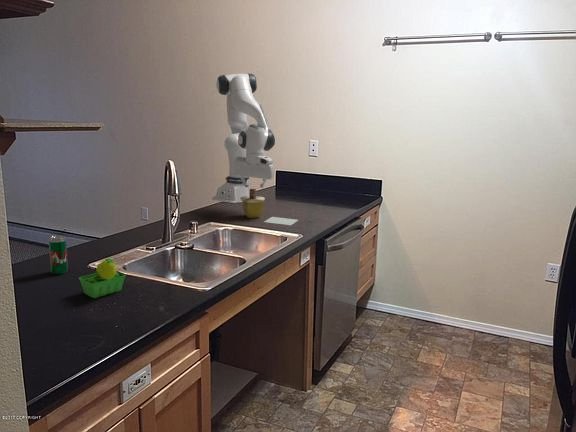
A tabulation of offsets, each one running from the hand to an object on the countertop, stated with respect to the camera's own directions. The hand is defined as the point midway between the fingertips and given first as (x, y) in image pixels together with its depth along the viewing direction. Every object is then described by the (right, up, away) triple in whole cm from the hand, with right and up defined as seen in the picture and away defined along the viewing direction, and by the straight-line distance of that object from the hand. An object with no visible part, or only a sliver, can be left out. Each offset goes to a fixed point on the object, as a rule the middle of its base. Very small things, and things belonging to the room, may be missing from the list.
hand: (253, 186), depth 242 cm
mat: (+14, -18, -4) cm, 23 cm away
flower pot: (-1, -16, +3) cm, 16 cm away
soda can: (-57, -34, -82) cm, 106 cm away
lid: (0, -7, +1) cm, 7 cm away
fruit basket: (-37, -38, -97) cm, 111 cm away
